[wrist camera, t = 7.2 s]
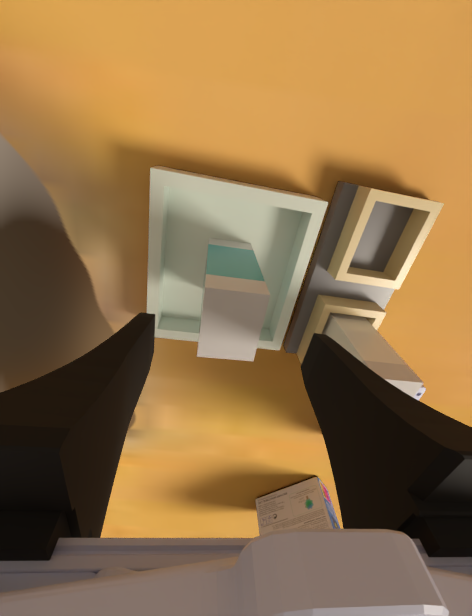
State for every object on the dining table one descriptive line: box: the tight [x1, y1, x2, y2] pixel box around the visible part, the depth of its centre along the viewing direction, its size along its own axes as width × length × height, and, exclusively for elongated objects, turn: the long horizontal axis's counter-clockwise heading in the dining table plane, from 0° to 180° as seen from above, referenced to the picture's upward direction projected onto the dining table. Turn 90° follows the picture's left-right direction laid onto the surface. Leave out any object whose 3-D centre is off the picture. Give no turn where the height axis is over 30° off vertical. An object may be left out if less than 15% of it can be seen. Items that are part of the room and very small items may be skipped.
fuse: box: [322, 312, 423, 397], centre depth 20 cm, size 4×3×8 cm
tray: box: [147, 166, 328, 350], centre depth 20 cm, size 12×11×2 cm
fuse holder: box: [283, 181, 444, 364], centre depth 21 cm, size 14×7×3 cm, turn 170°
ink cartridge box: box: [256, 477, 340, 535], centre depth 33 cm, size 10×6×14 cm, turn 121°
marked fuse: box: [197, 238, 270, 361], centre depth 17 cm, size 4×3×8 cm
